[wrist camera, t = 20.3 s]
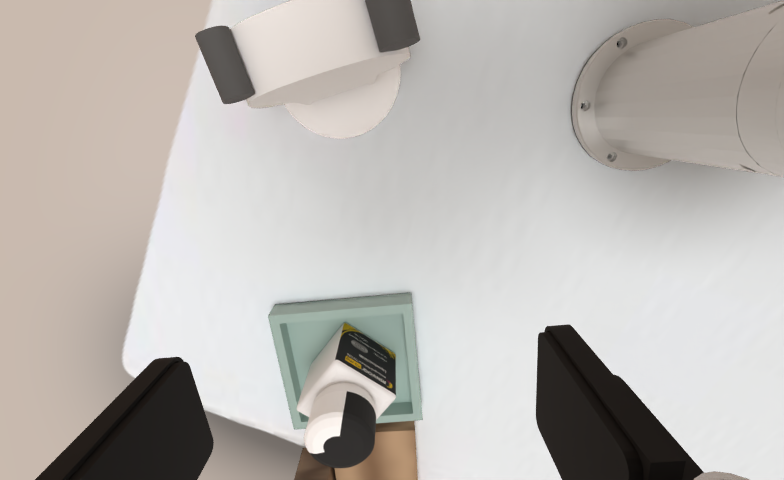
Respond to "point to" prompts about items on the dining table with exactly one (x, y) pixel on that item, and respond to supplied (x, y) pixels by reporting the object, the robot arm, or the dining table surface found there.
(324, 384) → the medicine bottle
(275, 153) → the dining table surface
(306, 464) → the dark brown wooden block
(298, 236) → the dining table surface
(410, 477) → the tan wooden block
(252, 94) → the panda figurine
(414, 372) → the tray
